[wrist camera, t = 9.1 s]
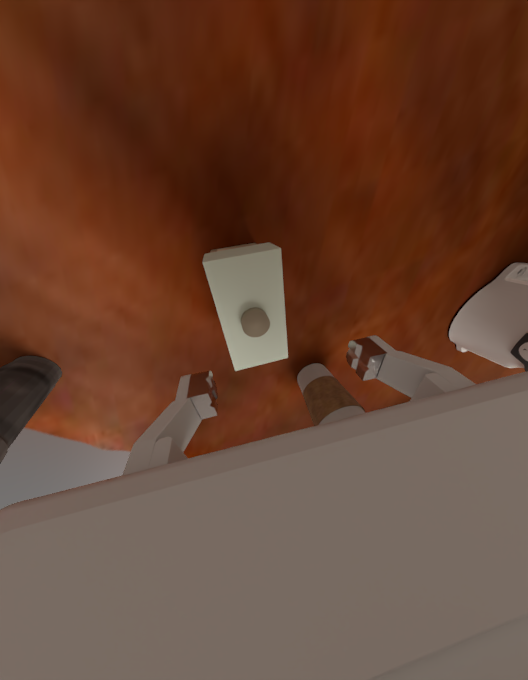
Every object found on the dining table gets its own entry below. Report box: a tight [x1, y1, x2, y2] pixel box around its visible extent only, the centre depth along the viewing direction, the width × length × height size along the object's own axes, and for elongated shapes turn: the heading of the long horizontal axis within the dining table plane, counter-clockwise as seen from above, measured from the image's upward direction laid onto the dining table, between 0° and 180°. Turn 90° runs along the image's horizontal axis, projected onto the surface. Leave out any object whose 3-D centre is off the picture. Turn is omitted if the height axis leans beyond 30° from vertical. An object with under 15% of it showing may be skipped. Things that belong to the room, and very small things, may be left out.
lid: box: [202, 242, 288, 371], centre depth 18 cm, size 6×11×5 cm, turn 7°
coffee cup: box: [297, 363, 365, 426], centre depth 30 cm, size 8×8×15 cm
